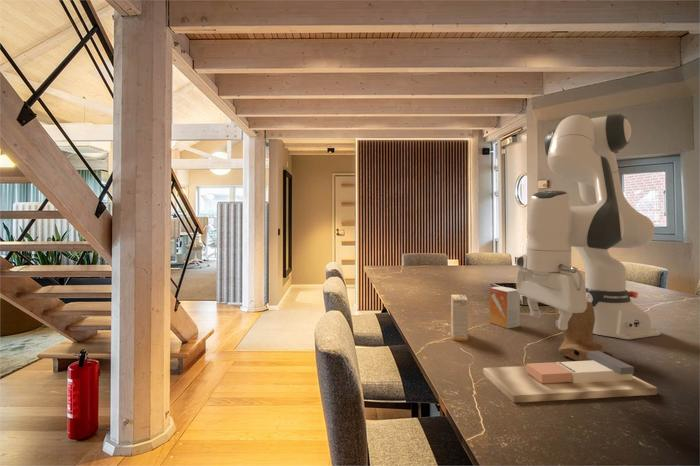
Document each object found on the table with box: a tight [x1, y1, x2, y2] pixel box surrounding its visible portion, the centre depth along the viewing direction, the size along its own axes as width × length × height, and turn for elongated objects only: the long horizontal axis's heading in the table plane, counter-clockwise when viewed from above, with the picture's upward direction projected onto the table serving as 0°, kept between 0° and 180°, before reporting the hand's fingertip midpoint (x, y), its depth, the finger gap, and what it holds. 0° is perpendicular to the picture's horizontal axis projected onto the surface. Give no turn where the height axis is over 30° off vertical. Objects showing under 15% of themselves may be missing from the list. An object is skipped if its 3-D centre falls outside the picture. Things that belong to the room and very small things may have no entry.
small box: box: [489, 285, 521, 329], centre depth 129 cm, size 8×6×13 cm
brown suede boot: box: [554, 301, 605, 361], centre depth 101 cm, size 15×12×15 cm
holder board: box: [482, 365, 658, 403], centre depth 83 cm, size 32×14×2 cm, turn 95°
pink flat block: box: [525, 362, 572, 383], centre depth 83 cm, size 7×6×2 cm
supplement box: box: [450, 294, 469, 342], centre depth 117 cm, size 8×5×13 cm, turn 168°
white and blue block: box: [555, 351, 635, 383], centre depth 83 cm, size 14×10×4 cm
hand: (547, 323), depth 82 cm, fingers open, 8 cm apart
